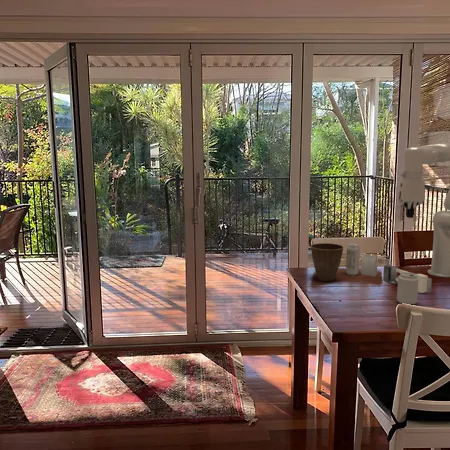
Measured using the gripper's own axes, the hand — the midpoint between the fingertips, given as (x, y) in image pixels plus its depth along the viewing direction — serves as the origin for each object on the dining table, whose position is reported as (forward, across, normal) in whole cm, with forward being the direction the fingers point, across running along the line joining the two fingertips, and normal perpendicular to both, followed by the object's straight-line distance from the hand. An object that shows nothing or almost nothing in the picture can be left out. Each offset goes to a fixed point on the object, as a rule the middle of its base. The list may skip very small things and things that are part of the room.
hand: (409, 217), depth 191 cm
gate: (+31, -1, -4) cm, 31 cm away
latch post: (+31, +4, -11) cm, 33 cm away
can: (+31, -11, -24) cm, 41 cm away
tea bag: (+31, -10, +17) cm, 37 cm away
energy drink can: (+31, -18, +18) cm, 41 cm away
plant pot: (+31, -34, +11) cm, 47 cm away
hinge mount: (+31, -5, +4) cm, 32 cm away
